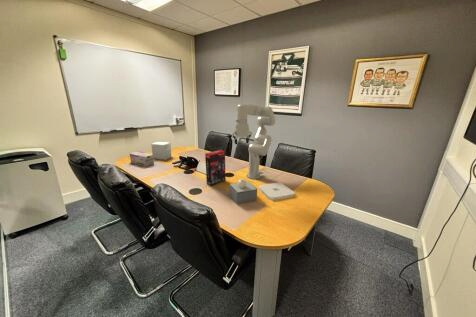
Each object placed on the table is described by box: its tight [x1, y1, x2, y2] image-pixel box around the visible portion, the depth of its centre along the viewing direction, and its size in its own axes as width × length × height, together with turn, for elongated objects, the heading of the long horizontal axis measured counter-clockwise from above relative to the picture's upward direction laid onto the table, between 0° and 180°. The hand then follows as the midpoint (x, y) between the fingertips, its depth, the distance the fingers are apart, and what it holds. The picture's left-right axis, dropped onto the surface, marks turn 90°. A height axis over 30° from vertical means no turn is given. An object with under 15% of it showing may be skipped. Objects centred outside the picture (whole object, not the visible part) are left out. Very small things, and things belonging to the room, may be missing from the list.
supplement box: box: [150, 141, 172, 161], centre depth 230 cm, size 17×13×18 cm
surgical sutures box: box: [129, 151, 155, 168], centre depth 210 cm, size 25×11×11 cm, turn 59°
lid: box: [229, 181, 258, 193], centre depth 141 cm, size 16×14×1 cm
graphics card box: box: [204, 149, 226, 187], centre depth 164 cm, size 17×7×27 cm, turn 138°
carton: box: [228, 185, 258, 205], centre depth 142 cm, size 16×14×8 cm
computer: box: [258, 182, 295, 201], centre depth 153 cm, size 22×22×3 cm
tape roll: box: [237, 178, 247, 188], centre depth 140 cm, size 6×6×5 cm
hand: (241, 143), depth 152 cm, fingers open, 9 cm apart
